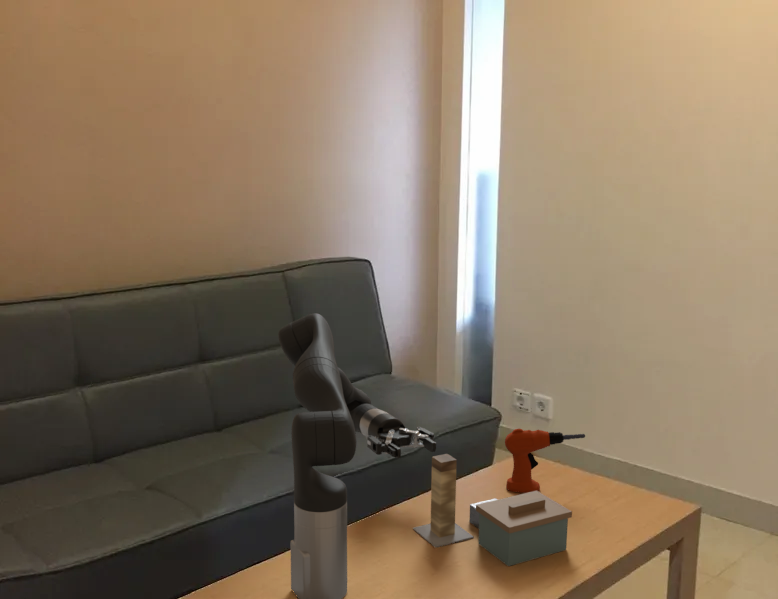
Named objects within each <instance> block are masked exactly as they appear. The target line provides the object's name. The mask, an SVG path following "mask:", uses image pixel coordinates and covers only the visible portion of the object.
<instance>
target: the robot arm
mask: <svg viewBox="0 0 778 599" xmlns="http://www.w3.org/2000/svg"><path fill="white" fill-rule="evenodd" d="M277 334H278V335H277V336H278V342H279V346H280V347H281V349H282V352H283V353H284V354H285V356H286V358H287V359H288V361H290V363H291V364H292V365H293V366H294V368H293V372H292V382H293V383H292V384H293V390H294V391H293V392H294V395H295V396H294V397H295V398H296V400H297V401H298V403H299V404H300V405H301V406H302V407H303V408H304V409H306V410H307V411H302V412H298V413H297V414H295V416H294V417H293V419H292V423H291V434H290V435H291V448H292V449H291V450H292V461H293V462H292V464H293V506H294V507H293V511H294V512H293V514H294V516H293V517H294V518H293V521H294V522H293V524H294V527H293V529H294V537H293V538H294V539H292V540H290V587H291V588H290V589H292V590H293V591H294V593H295V594H296V595H297V596H296V595H295V594H294V593H293V594H294V595H295V596H296V598H297V597H298V598H299V599H343V598H344V597H346V595H347V592H348V488H347V486H346V483H344V481H343V480H342V479H340V478H337V477H335V476H331V475H328V474H325V473H322V472H320V471H319V470H316V469H315V468H314V467H323V466H324V467H325V466H340V465H345V464H348V463H349V462H351V461H352V459H353V458H354V456H355V454H356V450H357V435H356V433H360V434H362V436H364V437H365V439H366V440H367V445H366V446H367V448H369V450H371V451H372V452H373V453H374V454H376V455H382V454H383V453H384V455H390V456H391V457H393V458H395V459H396V460H397V459H401V457H402V456H401V455H402V450H401V447H402V448H405V447H409V448H413V449H414V448H415V449H416V448H418V447H421V448H424V449H425V450H427V451H429V452H431V453H435V452H436V450H437V442H436V441H435V437H434V436H435V433H434V432H432V431H430V430H428V429H426V428H424V427H421V426H417V427H416V430H411V429H408V428H406V426H405V424H404V423H403V421H401V420H400V419H399V418H397V417H395V416H393V415H392V414H391V413H388V412H387V411H385V410H382V409H379V408H378V407H376V406H375V405H373V404H372V400H371V397H369V395H368V394H367V393H366V392H364V391H363V390H362V389H360V388H357V387H356V386H354V385H353V384H352V382H351V380H350V379H349V378H348V376H347V375H346V374H347V373H345V371H344V370H342V368H340V367H338V364H337V360H336V356H335V341H334V336H333V332H332V330H331V327H330V325H329V323H328V321H327V319H326V318H325V317H324V316H323V315H321V314H319V313H315V312H314V313H310V314H309V313H308V314H306V315H304V316H302V317H299V319H295V320H294V321H291V322H290V323H287V324H286V325H284V326H282V327H281V328H280V329H279V330H278V333H277ZM292 590H291V591H292ZM293 591H292V592H293ZM298 598H297V599H298Z"/></svg>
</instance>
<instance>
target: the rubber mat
mask: <svg viewBox="0 0 778 599" xmlns="http://www.w3.org/2000/svg"><path fill="white" fill-rule="evenodd" d="M413 529H414V530H413ZM412 530H413V531H415V533H417V534H418V535H419V534H420V535H419V536H420V537H422V538H423V539H424V540H425V541H426V542H428V543H429V544H430V543H431V544H432V545H431V544H430V545H431V546H433V547H434V548H435V549H436V547H437V548H441V547H444V546H447V545H452V544H456V543H459V541H460V542H463V540H464V541H467V540H471V539H474V536H473V534H471V533H470V532H468V531H467V530H465V529H464V528H463V527H462V526H460V525H458V523H456V522H455V534H453V535H448V536H444V537H440V538H439V537H438V536H437V535H436V534H434V533H433V532H432V531H431V522H430V523H426V524H423V525H419V526H414V527H412ZM455 542H456V543H455ZM451 543H452V544H451ZM443 545H444V546H443ZM440 546H441V547H440Z"/></svg>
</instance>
